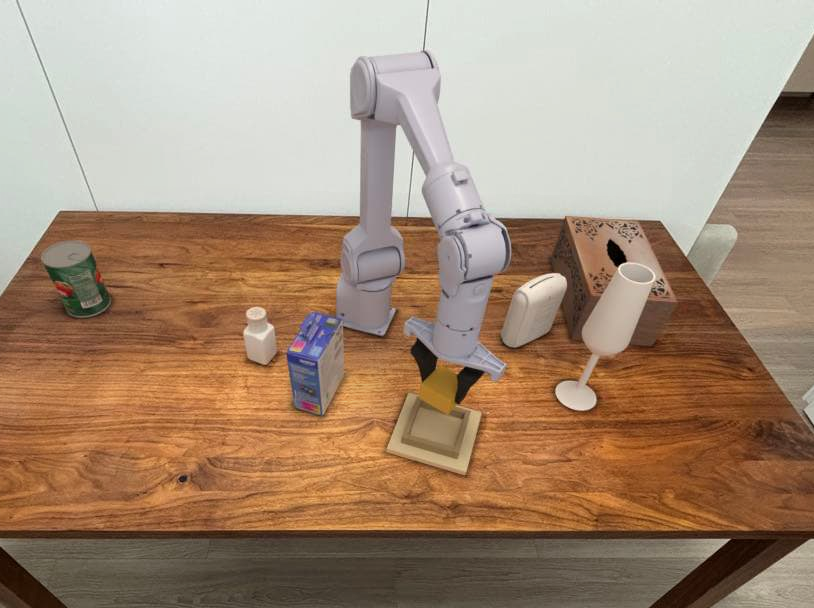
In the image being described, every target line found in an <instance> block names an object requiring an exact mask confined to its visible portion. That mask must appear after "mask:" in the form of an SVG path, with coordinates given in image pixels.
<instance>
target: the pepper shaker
mask: <svg viewBox="0 0 814 608" xmlns="http://www.w3.org/2000/svg"><path fill="white" fill-rule="evenodd" d="M245 317H246V322H247V326H246V327H245V328H244V330H243V334H242V335H243V340H244V341H243V342H244V346H245V353H246V357H247V359H249V361H252V362H255V363H258V364H261V365H263V366H265V365H266V366H267V365H268V364H270V362H271V360H272V359H273V358H274V357H275V356H276V354H277V353H278V347H277V338H276V330H275V326H274V325H273V324H271V323H269V322H268V321H269V320H268V315H267V311H266V309H265V308H263V307H261V306H253V307H250V308H249V309H247V310H246V312H245Z"/></svg>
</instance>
